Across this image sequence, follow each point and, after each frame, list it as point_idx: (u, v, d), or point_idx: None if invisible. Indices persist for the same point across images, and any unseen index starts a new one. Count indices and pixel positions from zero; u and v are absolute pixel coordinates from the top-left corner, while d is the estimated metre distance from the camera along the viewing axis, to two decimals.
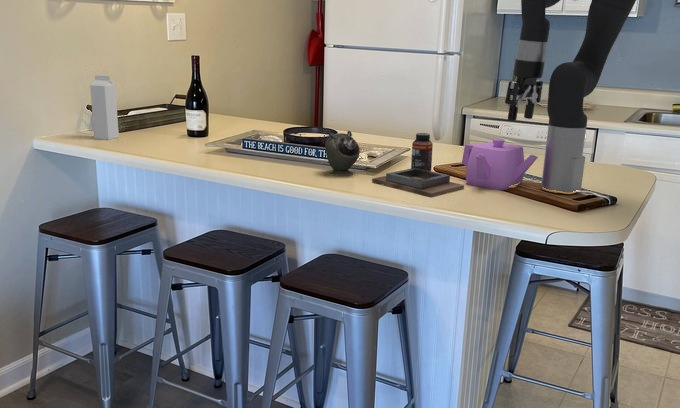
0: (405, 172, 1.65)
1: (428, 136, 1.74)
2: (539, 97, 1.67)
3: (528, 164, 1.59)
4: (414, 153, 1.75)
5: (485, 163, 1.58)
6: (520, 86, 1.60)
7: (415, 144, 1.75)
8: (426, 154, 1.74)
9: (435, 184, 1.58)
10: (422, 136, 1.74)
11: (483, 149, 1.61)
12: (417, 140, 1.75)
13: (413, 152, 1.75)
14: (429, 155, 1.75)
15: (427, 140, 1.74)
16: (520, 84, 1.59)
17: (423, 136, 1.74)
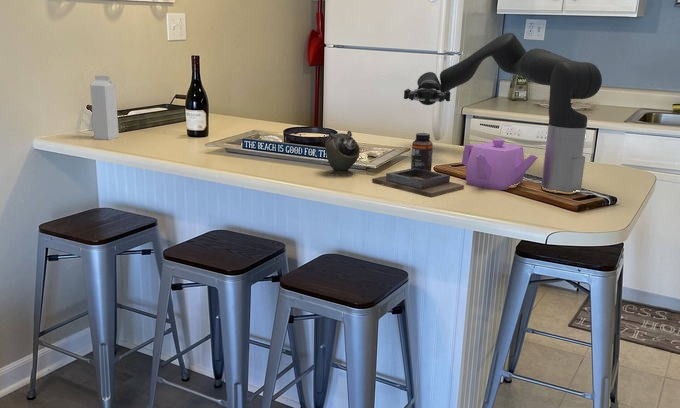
0: (405, 172, 1.65)
1: (428, 136, 1.74)
2: (448, 92, 1.88)
3: (528, 164, 1.59)
4: (414, 153, 1.75)
5: (485, 163, 1.58)
6: None
7: (415, 144, 1.75)
8: (426, 154, 1.74)
9: (435, 184, 1.58)
10: (422, 136, 1.74)
11: (483, 149, 1.61)
12: (417, 140, 1.75)
13: (413, 152, 1.75)
14: (429, 155, 1.75)
15: (427, 140, 1.74)
16: None
17: (423, 136, 1.74)
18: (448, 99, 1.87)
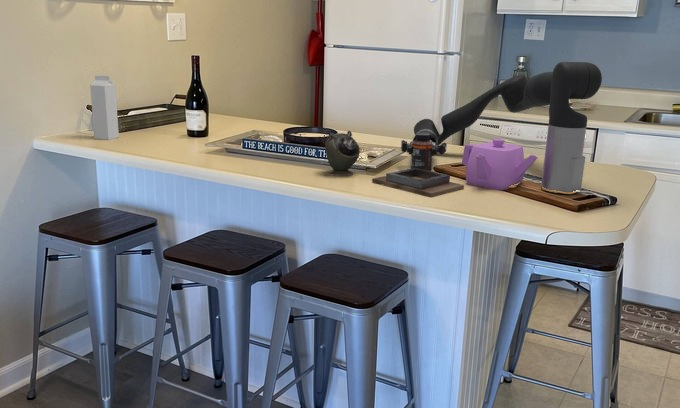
0: (405, 172, 1.65)
1: (428, 136, 1.74)
2: (442, 145, 1.79)
3: (528, 164, 1.59)
4: (414, 153, 1.75)
5: (485, 163, 1.58)
6: (410, 142, 1.84)
7: (415, 144, 1.75)
8: (426, 154, 1.74)
9: (435, 184, 1.58)
10: (422, 136, 1.74)
11: (483, 149, 1.61)
12: (417, 140, 1.75)
13: (413, 152, 1.75)
14: (429, 155, 1.75)
15: (427, 140, 1.74)
16: (410, 142, 1.85)
17: (423, 136, 1.74)
18: (441, 152, 1.78)
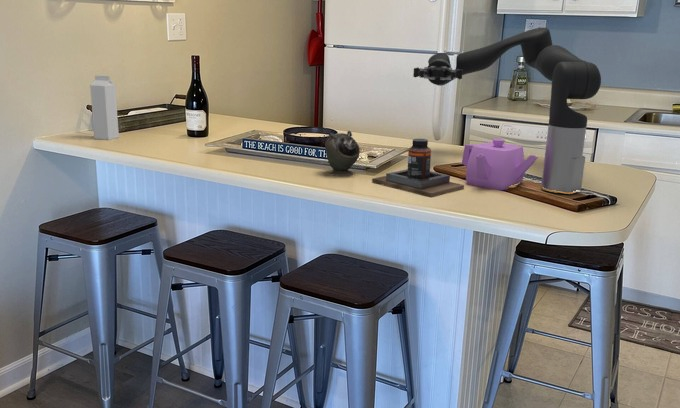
0: (405, 172, 1.65)
1: (426, 142, 1.58)
2: None
3: (528, 164, 1.59)
4: (411, 161, 1.59)
5: (485, 163, 1.58)
6: None
7: (411, 151, 1.58)
8: (423, 162, 1.58)
9: (435, 184, 1.58)
10: (419, 142, 1.57)
11: (483, 149, 1.61)
12: (414, 146, 1.58)
13: (410, 160, 1.59)
14: (427, 163, 1.58)
15: (425, 146, 1.58)
16: None
17: (420, 142, 1.57)
18: (460, 77, 1.77)
